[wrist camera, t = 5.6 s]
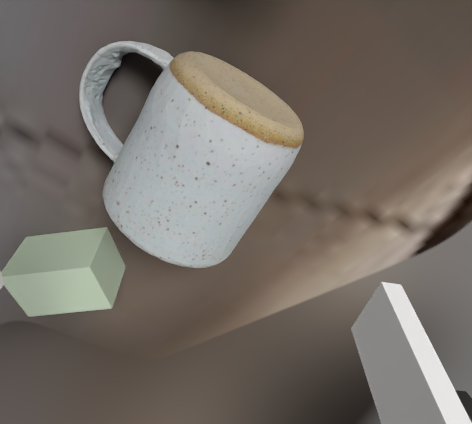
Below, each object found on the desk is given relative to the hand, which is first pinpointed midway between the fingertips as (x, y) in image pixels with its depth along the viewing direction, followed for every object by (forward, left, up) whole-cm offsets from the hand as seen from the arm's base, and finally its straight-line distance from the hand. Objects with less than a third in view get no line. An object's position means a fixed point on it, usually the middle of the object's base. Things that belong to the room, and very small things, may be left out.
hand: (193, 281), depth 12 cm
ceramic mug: (-2, +1, -11) cm, 11 cm away
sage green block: (-8, -11, -11) cm, 17 cm away
